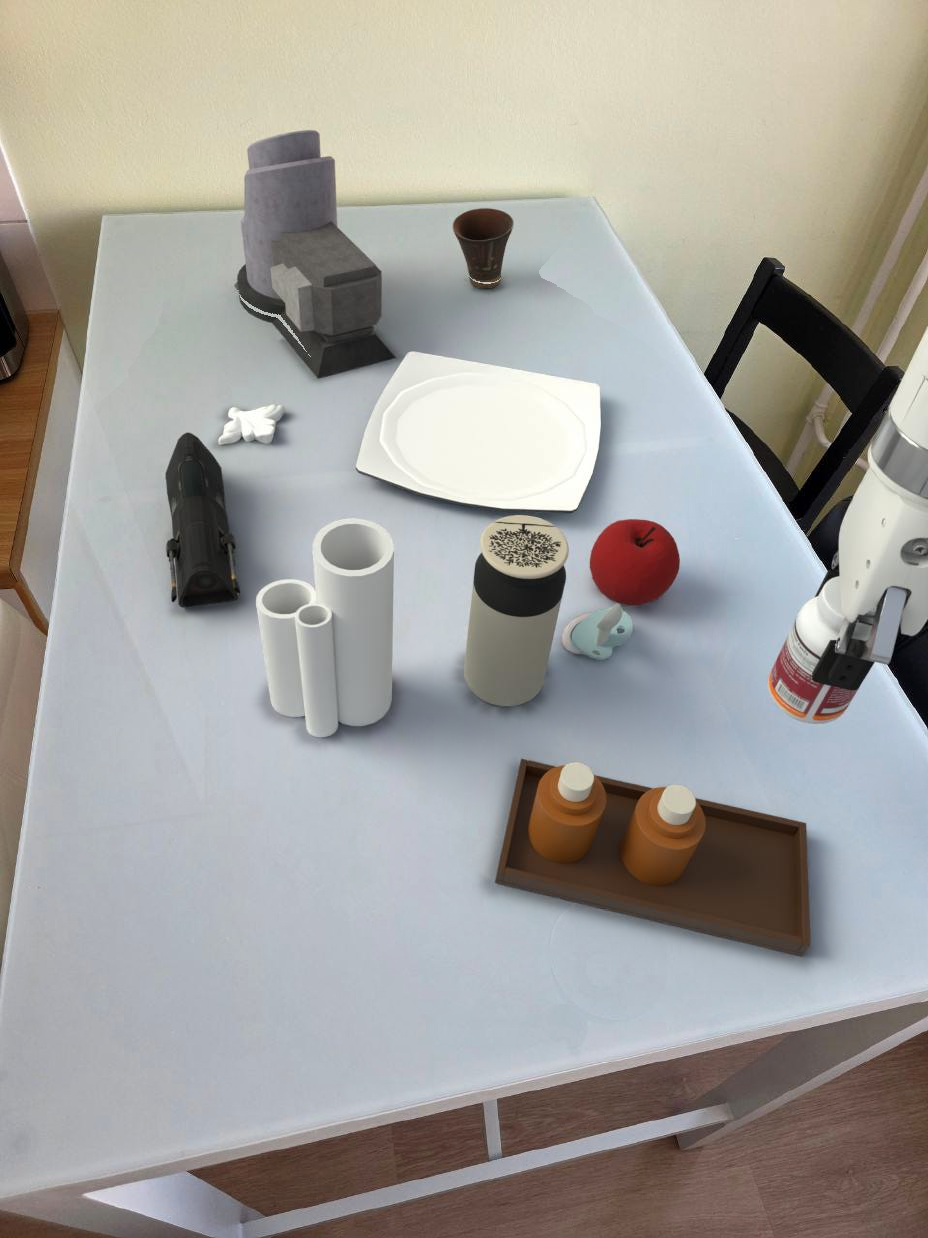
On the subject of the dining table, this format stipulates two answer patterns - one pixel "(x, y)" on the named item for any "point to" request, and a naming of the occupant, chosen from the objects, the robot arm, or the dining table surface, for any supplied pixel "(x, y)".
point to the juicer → (307, 258)
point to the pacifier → (597, 632)
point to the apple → (634, 561)
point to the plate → (484, 435)
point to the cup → (483, 243)
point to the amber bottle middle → (662, 834)
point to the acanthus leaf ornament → (252, 424)
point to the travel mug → (514, 608)
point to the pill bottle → (812, 660)
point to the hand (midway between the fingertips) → (833, 645)
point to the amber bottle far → (566, 812)
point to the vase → (333, 631)
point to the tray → (707, 889)
